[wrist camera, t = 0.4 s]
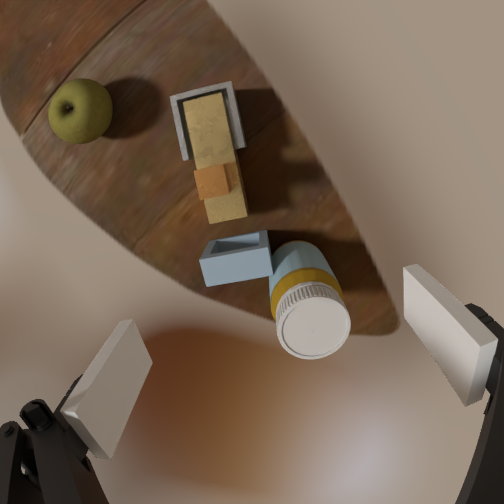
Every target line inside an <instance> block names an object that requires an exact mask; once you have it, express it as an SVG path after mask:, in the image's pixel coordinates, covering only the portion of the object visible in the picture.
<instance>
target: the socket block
mask: <svg viewBox="0 0 504 504" xmlns="http://www.w3.org/2000/svg"><path fill="white" fill-rule="evenodd" d="M199 261H200V265H201V268H202V272H203V276H204V279H205V283H206V287H208V286H214V285H220V284H226V283H231V282H237V281H243V280H249V279H254V278H260V277H266V276H271V275H273V267H272V256H271V249H270V244H269V239H268V234H267V230H263V231H258V232H253V233H247V234H242V235H237V236H232V237H226V238H221V239H216V240H211V241H209V243H208V245H207V247H206V248H205V250H204V252H203V254H202V256H201V258H200V259H199Z"/></svg>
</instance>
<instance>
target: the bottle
mask: <svg viewBox="0 0 504 504" xmlns="http://www.w3.org/2000/svg"><path fill="white" fill-rule="evenodd" d="M272 267H273V275H271V276H269V286H270V304H271V312H272V315H273V317H274V319H275V321H276V325H277V335H278V338H279V341H280V343H281V345H282V346H283V347H284V349H285V350H286V351H287V352H289V353H290V354H292V355H294V356H296V357H299V358H303V359H318V358H322V357H325V356H328V355H330V354H332V353H333V352H335V351H336V350H337V349H339V348H340V347H341V346H342V345H343V343H344V342H345V341H346V339H347V337H348V335H349V332H350V323H351V322H350V317H349V313H348V311H347V309H346V307H345V305H344V303H343V293H342V290H341V287H340V285H339V283H338V281H337V279H336V277H335V276H334V274H333V272H332V270H331V268H330V267H329V265H328V263H327V261H326V259H325V258H324V256H323V254H322V253H321V252H320V250H319V249H318V248H317V247H316V246H314V245H313V244H311V243H309V242H306V241H301V240H297V241H290V242H287V243H285V244H283V245H281V246H280V247H279V248H277V249H276V251H275V252H274V253H273V255H272Z"/></svg>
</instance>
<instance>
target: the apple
mask: <svg viewBox="0 0 504 504" xmlns="http://www.w3.org/2000/svg"><path fill="white" fill-rule="evenodd" d="M48 115H49V122H50V125H51V127H52V129H53V131H54V132H55V133H56V134H57V135H58V136H59V137H60V138H61V139H63V140H64V141H66V142H69V143H73V144H85V143H89V142H92V141H94V140H96V139H97V138H98V137H100V136H101V135H102V134H103V133H104V132H105V131H106V130H107V128H108V127H109V125H110V122H111V120H112V115H113V105H112V100H111V97H110V95H109V93H108V91H107V90H106V89H105V88H104V87H103V86H102V85H101V84H99V83H98V82H96V81H93V80H90V79H75V80H72V81H69V82H67V83H66V84H64V85H63V86H62V87H61V88H60V89H59V90H58V91H57V93H56V94H55V96H54V97H53V99H52V101H51V104H50V107H49V113H48Z"/></svg>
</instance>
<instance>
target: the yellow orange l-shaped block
mask: <svg viewBox="0 0 504 504" xmlns="http://www.w3.org/2000/svg"><path fill="white" fill-rule="evenodd" d="M183 106H184V111H185V116H186V121H187V125H188V130H189V135H190V140H191V144H192V149H193V153H194V158H195V162H196V167H197V170H195V171H194V175H195V179H196V184H197V188H198V193H199V197H200V200H203V199H204V202H205V207H206V211H207V215H208V219H209V224H212V223H217V222H222V221H227V220H232V219H237V218H242V217H247V216H248V211H249V207H248V203H247V198H246V193H245V188H244V184H243V179H242V174H241V169H240V165H239V160H238V155H237V150H236V146H235V141H234V136H233V131H232V127H231V122H230V117H229V113H228V108H227V103H226V99H225V97H224V96H223V94H222V93H217V94H213V95H209V96H205V97H201V98H197V99H193V100H189V101H186V102H183Z"/></svg>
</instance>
